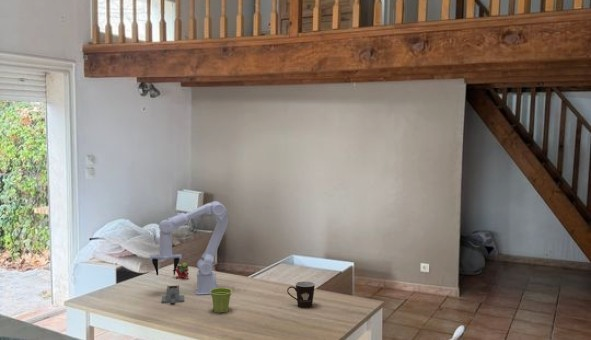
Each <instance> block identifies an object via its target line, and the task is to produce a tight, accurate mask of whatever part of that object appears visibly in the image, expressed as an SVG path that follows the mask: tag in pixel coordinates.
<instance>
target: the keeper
mask: <svg viewBox="0 0 591 340" xmlns="http://www.w3.org/2000/svg"><path fill="white" fill-rule="evenodd" d="M184 302H185V294H179V300H175V303H184ZM169 303H170V304H171V300H167V295H163V296H161V304H169Z"/></svg>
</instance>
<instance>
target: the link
mask: <svg viewBox="0 0 591 340" xmlns="http://www.w3.org/2000/svg"><path fill="white" fill-rule="evenodd" d="M179 295H180V285H167V287H166V296H167V300H171V303H173V304H175V303H176V302H175V300H179ZM171 303H170V304H171Z"/></svg>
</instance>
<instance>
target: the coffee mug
mask: <svg viewBox="0 0 591 340" xmlns="http://www.w3.org/2000/svg"><path fill="white" fill-rule="evenodd" d="M315 286H316V283H314V282H312V281H306V280H304V281H297V282H296V283H295V287H294V286H293V285H292V286H289V287H288V288H287V290H286V291H287V294H288V295H289V297H291V298H293V299H294V300H296V302H297V303H296V304H297V308H300V309H310V307H311V308H312V307H313V303H314V294H315ZM290 289H294V291H295V292H296V293H295V294H296V297H295V296H293V295H292V294H291V293H290V292H289V290H290Z"/></svg>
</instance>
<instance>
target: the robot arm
mask: <svg viewBox="0 0 591 340" xmlns="http://www.w3.org/2000/svg"><path fill="white" fill-rule="evenodd" d="M202 215H210V216H211V215H213V216H214V218H215V220H216V225H215V226H214V230H213V232H212V234H211V237H210V239H209V241H208V244H207V245H206V246H207V247H206V248H205V251H204V252H203V254H202V255H201V257H200V258H199V259H198V261H196V267H197V269H198V271H197V272H196V289H195V295H198V296H199V295H211V293H210V291H211V290H212V289H216V288H218V285H217V273H214V272H213V270H214V269H213V264H214V262H215V255H216V253H217V251H218V249H219V246H220V245H221V241H222V239H223V237H224V234H225V232H226V230H227V227H228V224H229V219H228V210H227V209H226V207H225V205H224V204H222V203H221V202H220V201H217V200H214V201H213V200H212V201H211V202H207V203H205V204H202V206H199V207H197V208H195V209H193V210H191V211H189V212H187V213H184V212H181V213H180V212H178V213H176V215H173V216H172V217H167V218H166V219H163V220H162V221H160V222H159V225H158V228H159V253H158V254H151V255H149V261H151V263H152V265H153V266H154V269H155V274H156V276H159V260H161V261H162V260H173V270H174V271H173V275H175V276H176V268H177V265H179V262H180V260H182V257H183V255H182V253H173V236H172V233H173V230H176V229H179V228H181V227H183V226H185V225H188V222H189V221H191V220H192V219H195V218H198V217H200V216H202Z"/></svg>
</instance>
